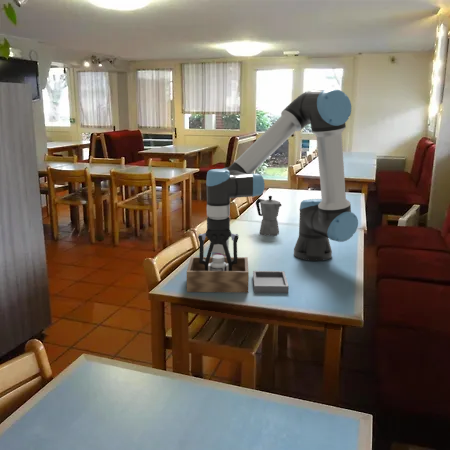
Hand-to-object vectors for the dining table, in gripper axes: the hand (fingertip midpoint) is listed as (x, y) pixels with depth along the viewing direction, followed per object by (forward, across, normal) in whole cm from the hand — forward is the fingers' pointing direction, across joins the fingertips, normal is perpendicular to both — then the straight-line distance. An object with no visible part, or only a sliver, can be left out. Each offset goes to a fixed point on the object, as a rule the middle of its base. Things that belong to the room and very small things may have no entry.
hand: (218, 282), depth 157 cm
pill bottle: (+1, 0, 0) cm, 1 cm away
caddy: (0, 0, 0) cm, 0 cm away
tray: (0, -18, 0) cm, 18 cm away
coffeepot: (+1, -21, -66) cm, 69 cm away
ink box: (+1, 0, -18) cm, 19 cm away
